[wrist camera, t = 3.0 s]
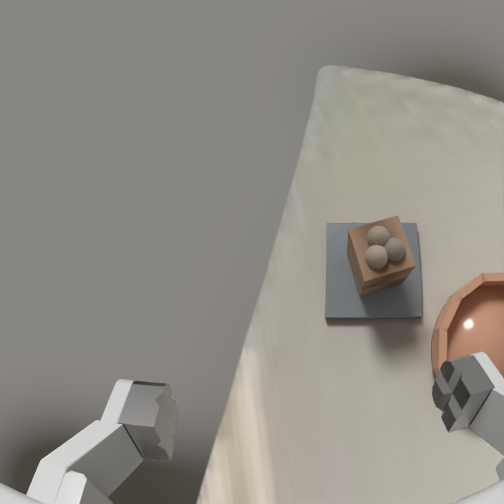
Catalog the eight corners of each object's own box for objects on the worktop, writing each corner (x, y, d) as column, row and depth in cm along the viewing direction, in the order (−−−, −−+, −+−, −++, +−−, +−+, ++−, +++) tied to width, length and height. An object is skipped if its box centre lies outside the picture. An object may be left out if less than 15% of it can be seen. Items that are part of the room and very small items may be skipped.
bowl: (531, 277, 32) (543, 271, 28) (532, 400, 26) (545, 401, 23) (429, 281, 36) (437, 274, 33) (426, 416, 31) (433, 421, 28)
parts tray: (414, 225, 39) (416, 222, 38) (420, 317, 35) (422, 316, 34) (326, 226, 42) (326, 223, 41) (325, 318, 38) (325, 317, 37)
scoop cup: (388, 241, 38) (399, 209, 30) (401, 283, 36) (419, 261, 28) (346, 253, 39) (348, 224, 31) (359, 296, 37) (365, 277, 29)
